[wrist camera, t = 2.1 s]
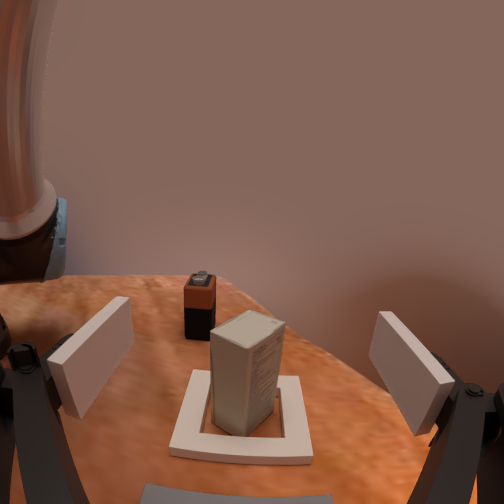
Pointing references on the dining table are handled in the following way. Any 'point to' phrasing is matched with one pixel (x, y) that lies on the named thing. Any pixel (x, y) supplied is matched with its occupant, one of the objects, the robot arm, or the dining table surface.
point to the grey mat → (219, 498)
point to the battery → (199, 305)
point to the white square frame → (242, 448)
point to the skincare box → (244, 371)
